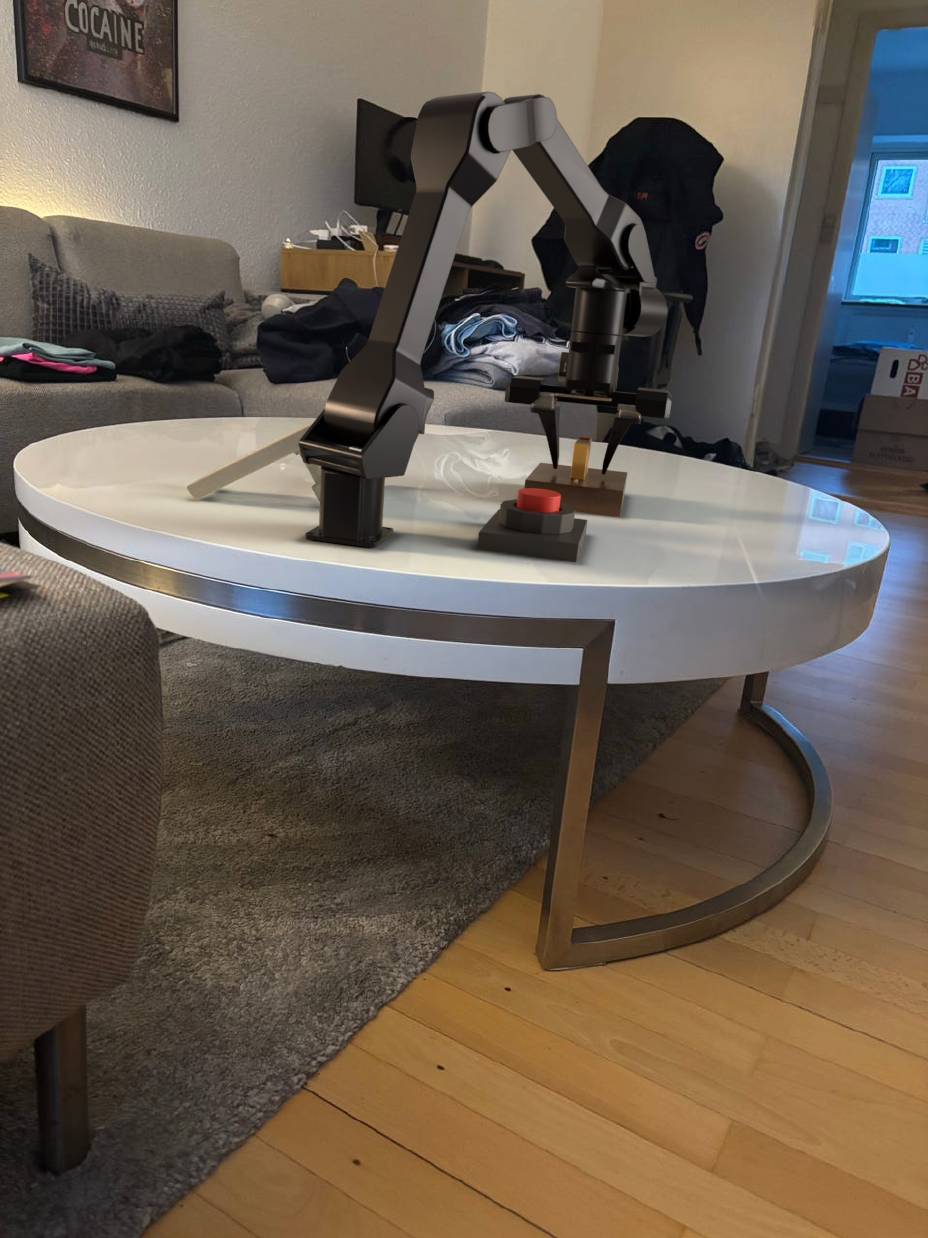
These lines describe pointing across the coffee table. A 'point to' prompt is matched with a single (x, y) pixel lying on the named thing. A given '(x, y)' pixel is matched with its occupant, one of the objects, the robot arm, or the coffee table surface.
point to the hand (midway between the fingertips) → (579, 471)
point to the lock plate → (582, 488)
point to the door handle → (255, 465)
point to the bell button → (538, 500)
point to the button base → (534, 532)
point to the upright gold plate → (581, 458)
